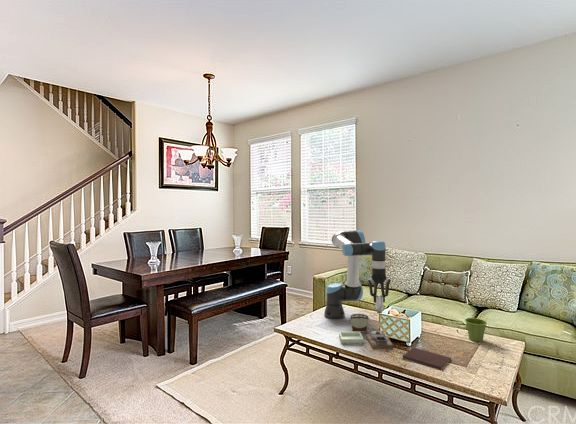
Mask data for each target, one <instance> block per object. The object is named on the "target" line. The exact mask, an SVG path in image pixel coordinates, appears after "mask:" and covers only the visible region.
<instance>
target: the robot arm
mask: <svg viewBox="0 0 576 424" xmlns="http://www.w3.org/2000/svg"><path fill="white" fill-rule="evenodd" d="M331 243H332V245H333V246H334V247H336V248H339V249H340V250H341V253H342V255H343V256H344V257H347V263H346V266H347V268H346V269H347V270H346V271H347V273H346V280H345V282H344V285H343V284H342V283H337V282H336V283H335V282H334V283H330V284H329V285H327V286H326V288H325V293H326V295H325V296H326V297H325V298H326V299H325V300H326V305H325V308H324V313H323V316H324V317H325V318H327V319H334V320H335V319H336V320H339V319H343V318H344V317H345V315H346V313H345V310H344V307H343V302H357V301H358V302H359V301H361V300H362V298H363V296H364V291H363V290H364V289H363V286H362V284H361V283H360V281H359V278H360V277H359V276H360V275H359V274H360V258H361V257H360V256H371V266H372V269H371V273H372V275H371V277H370V278H367V282H368V286H369V295H370V296H371V297H373V303H375V304H374V306H375V308H376V310H377V309H378V297H377V296H376V295H378V287H379V285H380V290H381V291H380V292H381V295H382V310H383V309H384V303H385V302H386V297H388V296H389V290H390V283H391V281H392V280H391V278H388V277H387V275H386V274H387V272H386V271H387V269H386V267H387V266H386V249H387V248H386V247H387V246H386V242H385V241H384V240H373V241H368V242H366V236H365V234H364V232H363V231H362V230H357V229H353V230H339V231H337V232H335V233H333V234H332V237H331ZM372 282H374V284H372ZM384 283H385V287H384ZM373 285H374V286H373Z"/></svg>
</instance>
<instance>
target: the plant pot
mask: <svg viewBox="0 0 576 424" xmlns="http://www.w3.org/2000/svg"><path fill="white" fill-rule="evenodd" d="M464 321H465V324H466V327H467V328H466V329H467V334H468V339H469V340H470V341H473V342H479V343H480V342H483V340H484V337H485V331H486V328H487V325H488V321H486V320H484V319H482V318H476V317H466V318H464Z"/></svg>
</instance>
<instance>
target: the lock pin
mask: <svg viewBox="0 0 576 424" xmlns="http://www.w3.org/2000/svg"><path fill="white" fill-rule="evenodd" d="M376 296H377V297H378V309H376V313H377V314H382V313H383V309H382V294H377V295H376Z"/></svg>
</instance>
